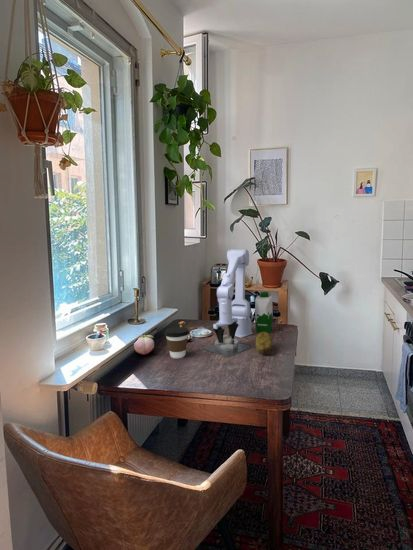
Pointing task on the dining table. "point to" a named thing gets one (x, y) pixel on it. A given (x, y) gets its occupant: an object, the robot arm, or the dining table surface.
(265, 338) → the yellow oval piece
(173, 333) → the coffee cup
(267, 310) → the milk carton
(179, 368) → the dining table surface
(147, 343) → the decorative fruit
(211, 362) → the dining table surface
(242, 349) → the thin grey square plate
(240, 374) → the dining table surface
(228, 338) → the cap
